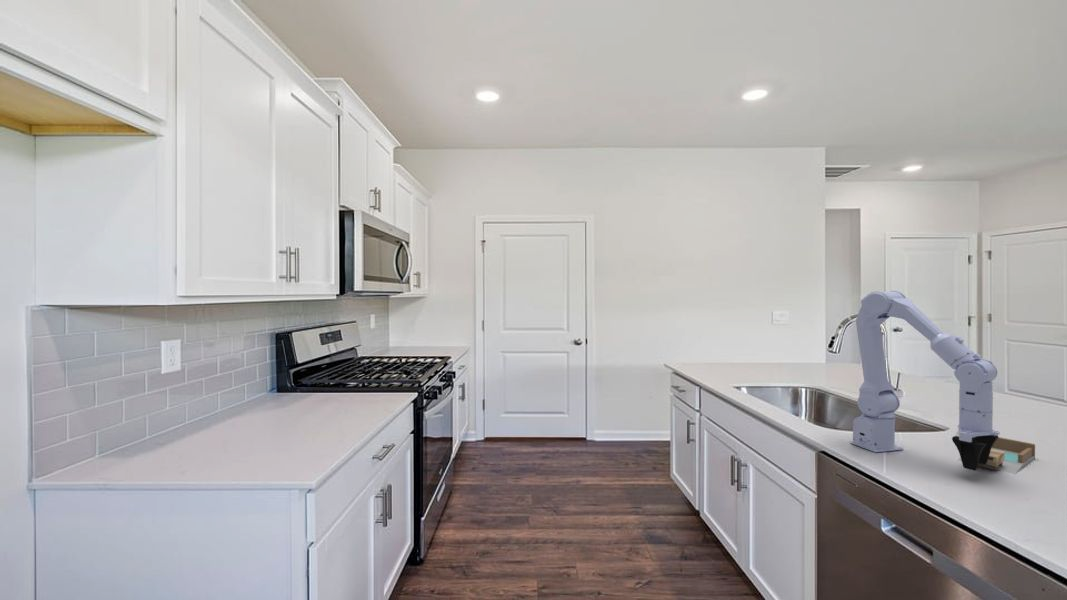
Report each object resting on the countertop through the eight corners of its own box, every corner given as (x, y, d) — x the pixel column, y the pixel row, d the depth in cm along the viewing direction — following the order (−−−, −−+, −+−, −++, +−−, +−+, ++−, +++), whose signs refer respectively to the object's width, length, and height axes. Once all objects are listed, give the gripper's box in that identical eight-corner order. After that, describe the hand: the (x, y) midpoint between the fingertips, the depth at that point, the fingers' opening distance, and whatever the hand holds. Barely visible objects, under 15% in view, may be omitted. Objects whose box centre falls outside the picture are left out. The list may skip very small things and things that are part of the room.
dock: (1015, 477, 107) (1015, 458, 107) (957, 463, 116) (957, 445, 116) (1035, 461, 116) (1035, 444, 116) (980, 449, 125) (980, 433, 125)
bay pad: (1015, 462, 112) (1015, 462, 112) (974, 453, 118) (974, 453, 118) (1023, 456, 115) (1023, 456, 115) (982, 448, 122) (982, 447, 122)
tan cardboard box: (996, 472, 107) (996, 458, 107) (967, 465, 112) (967, 451, 112) (1004, 465, 111) (1004, 452, 111) (975, 458, 115) (975, 445, 115)
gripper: (988, 418, 100) (988, 478, 100) (1008, 409, 107) (1008, 464, 108) (947, 411, 106) (947, 467, 106) (968, 402, 113) (968, 455, 114)
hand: (975, 465), depth 107 cm, fingers open, 7 cm apart
